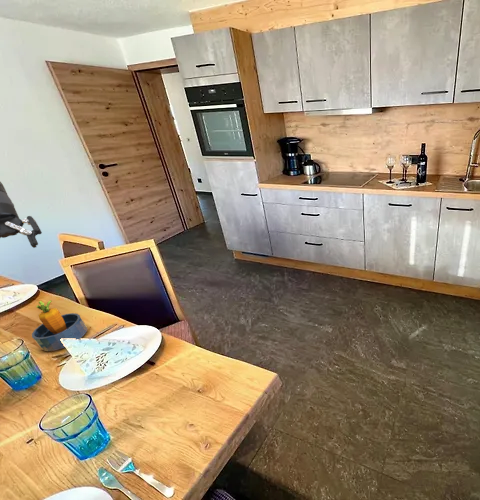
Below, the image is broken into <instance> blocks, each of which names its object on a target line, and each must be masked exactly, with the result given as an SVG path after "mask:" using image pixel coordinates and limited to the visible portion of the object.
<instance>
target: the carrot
mask: <svg viewBox="0 0 480 500" xmlns="http://www.w3.org/2000/svg"><path fill="white" fill-rule="evenodd" d="M52 302H53V300H48V302H47V303H46V304H45V302H43V301H42V300H39V301H38V304H37V305H36V306H35V307H36V308H37V309H38V310H41V312H39V314H38V319H39V321H40V322H41V323H42V324H44V325H45V327H46V328H47V329H48V330H50V331H51V332H52V333H53V334H57V333H60V332H62V331H64V330H66V329H67V328H66V324H65V322H64V319H63V318H62V316H61V315H62V314H61V312H60V311H59V309H58V308H56V307H52V308H51V307H50V304H51V303H52Z"/></svg>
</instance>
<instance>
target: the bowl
mask: <svg viewBox="0 0 480 500" xmlns="http://www.w3.org/2000/svg"><path fill="white" fill-rule="evenodd" d="M61 316H62V318H63V319H64V322H65V324H66V328H67V329H66V330H64V331H62V332H60V333H57V334H53V333H52V332H51V331H50V330H48V329H47V328H46V327H45V325H44V324H43V323H42V324H40V325H38V326H37V327H36V328H35V329H34V330H33V331H32V333H31V338H32V339H33V341H34V342H35V343H36V344H37V346H38V347H39V348H40V349H41V351H44V352H53V351H59V350H61V349H65V348H66V347H64V346H63V344H62V343H61V341H60V339H61V338H76V339H79V340H81V338H83V337H84V335H85V334H86V333H87V331H88V326H87V324H86V322H85V321H84V320H83V317H82V316H81V315H80V314H78V313H76V312H75V313H74V312H72V313H64V314H61Z"/></svg>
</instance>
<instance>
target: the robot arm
mask: <svg viewBox="0 0 480 500" xmlns="http://www.w3.org/2000/svg"><path fill="white" fill-rule="evenodd" d="M25 224H26V225H28V226H30V227H31V229H32V230H29V229H26V228H24V225H25ZM42 233H43V232H42V229H41V228H40V226H39V225H38V222H37V221H36V220H35V218H34V217H33V216H32V215H28V216H26V218H23V219H20V217H19V214H18V212H17V210H16V207H15V204H14V203H13V201H12V199H11V198H10V196H9V195H8V192H7V190H6V188H5V186H4V185H3V183H2V181H0V239H1V238H2V239H5V238H8V237H13V236H17V235H18V234H21V235H23V236H26V238H27V240H28V242H29V244H30V246H31V247H32V248H33V249H35V248H37V246H38V245H39V242H38V241H37V238H36V237H37V236H38V235H42Z"/></svg>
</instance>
